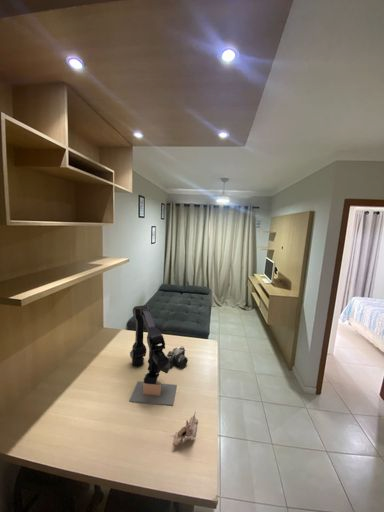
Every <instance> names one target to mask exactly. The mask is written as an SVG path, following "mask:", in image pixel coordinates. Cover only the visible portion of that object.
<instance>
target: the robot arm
mask: <svg viewBox="0 0 384 512" xmlns="http://www.w3.org/2000/svg"><path fill="white" fill-rule="evenodd" d="M132 314H133V317H134V319H135V340H134V341H135V342H134V343H133V345H132V347H131V348H132V349H131V351H130V352H129V356H130V358H131V366H133V368H140V367H144V363H145V358H144V357H146V354H147V347H148V349H149V350H148V352H149V353H148V360H147V364H148V367H147V371H148V372H147V373H146V374H144V378H143V382H144V383H146V384H156V383H157V382H158V379H159V375H160V373H161V372H163V373H164V374H168V372H170V368H171V367H170V366H171V364H170V363H169V358H167V357H166V355H167V354H165V352H164V351H163V350H165V349H166V342H165V338H164V335H163V334H162V333H161V331H160V329H158V328H157V327H156V325H155V322H154V319H153V316H152V314H151V309H150V308H149V306H146V304H144V305H136V306H134V307H133V308H132ZM144 326H145V327H144ZM144 328H145V329H146V332H147V336H146V342H147V346H146V345H145V344H144Z"/></svg>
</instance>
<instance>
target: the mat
mask: <svg viewBox="0 0 384 512" xmlns="http://www.w3.org/2000/svg"><path fill="white" fill-rule="evenodd" d="M143 384H144V381H137V382H136V385H135V387H134V388H133V391H132V393H131V396H130V398H129V403H138V404H148V405H149V404H150V405H159V406H168V407H169V406H172V407H174V402H175V396H176V392H177V388H178V387H177V384H171V383H170V384H169V383H161V395H160V396H158V395H147V394H143Z"/></svg>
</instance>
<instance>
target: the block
mask: <svg viewBox="0 0 384 512" xmlns="http://www.w3.org/2000/svg"><path fill="white" fill-rule="evenodd" d="M161 384H162V382H158V381H157V383H156V384H146V383H144V384H143V394H147V395H158V396H160V395H161Z"/></svg>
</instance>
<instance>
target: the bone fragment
mask: <svg viewBox="0 0 384 512" xmlns="http://www.w3.org/2000/svg"><path fill="white" fill-rule="evenodd" d="M196 413H197V412H196V411H195V412H194V414H193V416H191V417H190V420H188V419H186V422H185V426H183V427H181V428H180V430H179V431H176V433H175V434H174V438H173V442H172V446H173V447H177V446H179V445H183V443H184V442H183V439H184V438H186V437H188V438H190V440H191V441H193V439H194V438H195V437H196V434H197V429H198V427H197V426H198V421H199V420H198V419H197V418H196Z"/></svg>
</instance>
